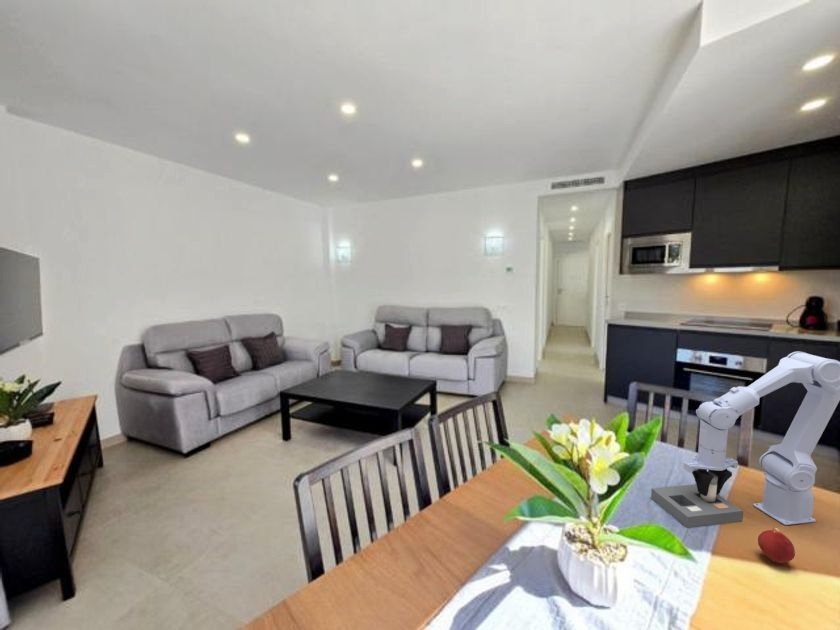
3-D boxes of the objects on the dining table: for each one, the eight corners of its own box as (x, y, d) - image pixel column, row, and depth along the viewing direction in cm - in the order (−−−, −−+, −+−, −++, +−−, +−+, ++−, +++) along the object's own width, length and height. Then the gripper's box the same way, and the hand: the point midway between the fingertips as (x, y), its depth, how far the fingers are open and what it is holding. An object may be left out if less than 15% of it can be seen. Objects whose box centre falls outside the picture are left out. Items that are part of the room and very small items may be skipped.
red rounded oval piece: (782, 554, 80) (786, 522, 79) (800, 575, 75) (804, 541, 74) (751, 548, 82) (754, 517, 81) (765, 568, 77) (769, 535, 76)
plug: (707, 497, 98) (710, 470, 97) (718, 504, 95) (721, 477, 94) (697, 498, 98) (699, 471, 97) (707, 505, 95) (710, 478, 93)
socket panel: (700, 493, 103) (701, 482, 103) (742, 521, 91) (743, 509, 91) (650, 498, 101) (651, 487, 101) (687, 527, 89) (688, 515, 89)
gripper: (721, 437, 99) (717, 482, 101) (675, 441, 98) (672, 486, 99) (747, 450, 92) (742, 497, 94) (698, 454, 91) (694, 502, 92)
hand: (708, 493), depth 96 cm, fingers closed on plug, 3 cm apart
